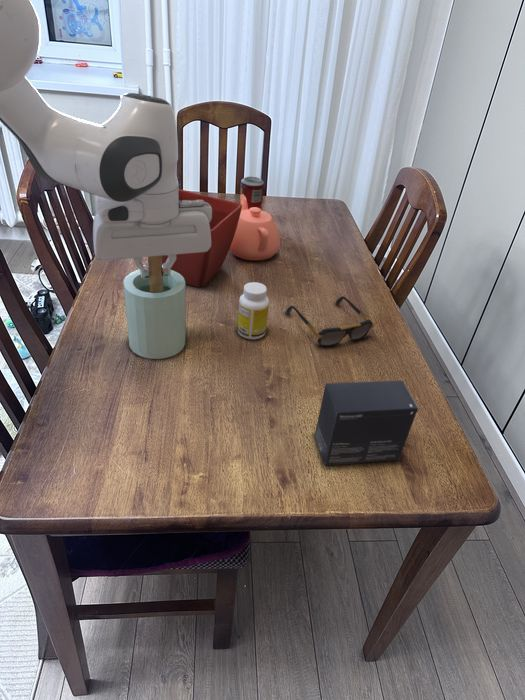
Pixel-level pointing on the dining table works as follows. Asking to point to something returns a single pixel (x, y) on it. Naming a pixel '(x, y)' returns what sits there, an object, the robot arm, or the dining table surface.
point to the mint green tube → (155, 315)
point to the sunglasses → (339, 328)
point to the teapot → (255, 234)
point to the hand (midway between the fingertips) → (155, 275)
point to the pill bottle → (253, 311)
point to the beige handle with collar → (155, 274)
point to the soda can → (252, 191)
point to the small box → (364, 422)
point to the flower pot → (222, 230)
